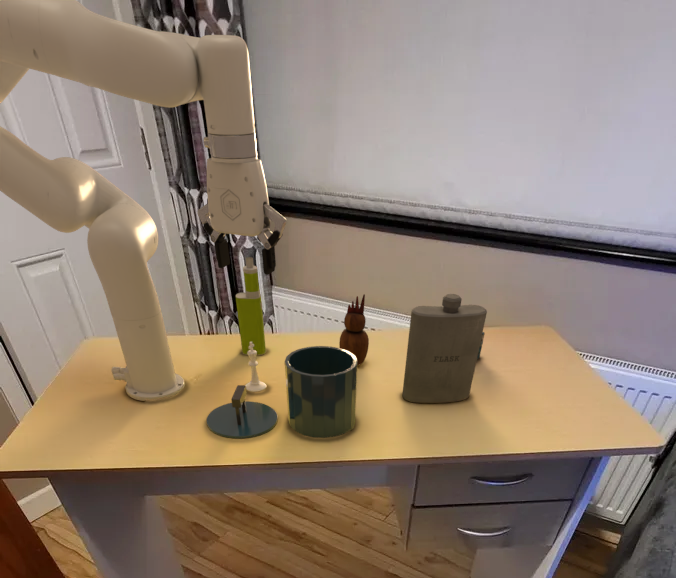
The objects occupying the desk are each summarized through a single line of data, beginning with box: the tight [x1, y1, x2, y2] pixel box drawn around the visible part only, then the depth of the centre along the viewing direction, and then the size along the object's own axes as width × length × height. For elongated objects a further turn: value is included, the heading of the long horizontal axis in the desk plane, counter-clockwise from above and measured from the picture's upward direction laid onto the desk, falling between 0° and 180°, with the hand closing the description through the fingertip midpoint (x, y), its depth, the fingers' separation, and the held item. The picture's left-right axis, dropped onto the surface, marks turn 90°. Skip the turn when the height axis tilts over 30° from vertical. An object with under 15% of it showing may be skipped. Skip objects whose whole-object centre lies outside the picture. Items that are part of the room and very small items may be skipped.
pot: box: [284, 345, 358, 439], centre depth 99 cm, size 13×13×12 cm
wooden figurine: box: [338, 293, 370, 366], centre depth 117 cm, size 7×6×15 cm
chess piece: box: [244, 342, 267, 393], centre depth 109 cm, size 5×5×10 cm
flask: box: [401, 293, 488, 404], centre depth 104 cm, size 15×6×20 cm, turn 96°
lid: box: [206, 384, 279, 440], centre depth 101 cm, size 14×14×6 cm
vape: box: [235, 256, 267, 356], centre depth 119 cm, size 4×6×20 cm, turn 88°
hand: (246, 269), depth 95 cm, fingers open, 9 cm apart
